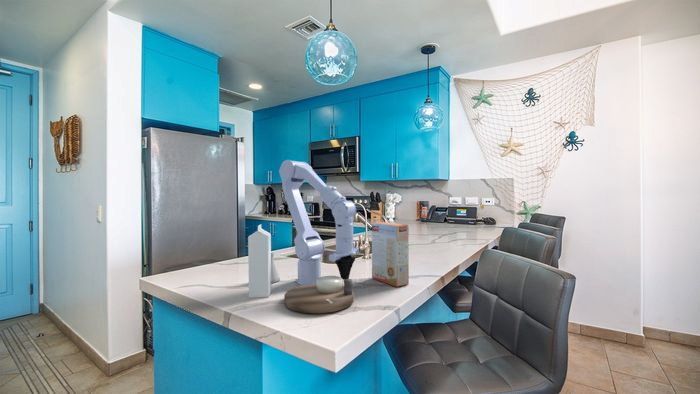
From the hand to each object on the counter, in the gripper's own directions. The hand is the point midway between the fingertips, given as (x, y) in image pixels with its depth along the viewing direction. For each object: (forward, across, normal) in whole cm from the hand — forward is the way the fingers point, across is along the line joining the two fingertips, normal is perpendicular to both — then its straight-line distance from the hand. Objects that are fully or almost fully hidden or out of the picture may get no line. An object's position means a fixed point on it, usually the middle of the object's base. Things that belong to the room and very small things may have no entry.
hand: (344, 279), depth 104 cm
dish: (+1, -8, 0) cm, 8 cm away
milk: (+4, -18, +20) cm, 27 cm away
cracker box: (+4, +17, -8) cm, 19 cm away
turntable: (+3, -13, 0) cm, 14 cm away
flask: (+4, -6, +29) cm, 30 cm away
